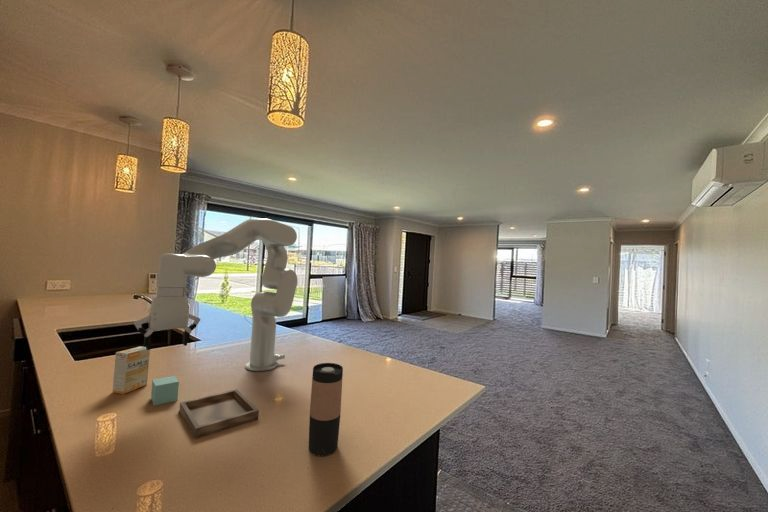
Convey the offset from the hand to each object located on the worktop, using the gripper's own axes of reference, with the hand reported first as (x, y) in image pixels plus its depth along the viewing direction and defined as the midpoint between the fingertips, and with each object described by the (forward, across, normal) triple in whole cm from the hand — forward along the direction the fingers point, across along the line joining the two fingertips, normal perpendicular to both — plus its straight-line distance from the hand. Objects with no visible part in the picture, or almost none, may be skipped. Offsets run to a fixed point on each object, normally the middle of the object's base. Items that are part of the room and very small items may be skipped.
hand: (166, 346), depth 98 cm
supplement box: (+17, +6, -15) cm, 24 cm away
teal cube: (+17, -1, 0) cm, 17 cm away
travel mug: (+17, -26, +52) cm, 60 cm away
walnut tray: (+17, -11, +20) cm, 28 cm away
